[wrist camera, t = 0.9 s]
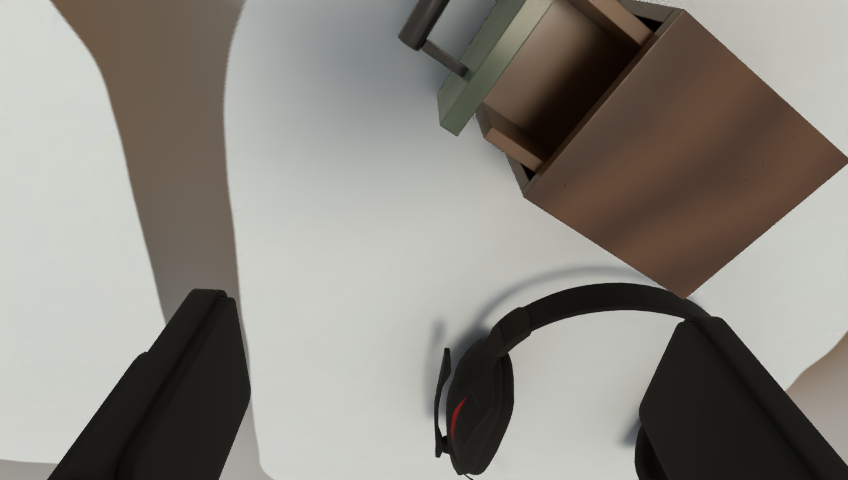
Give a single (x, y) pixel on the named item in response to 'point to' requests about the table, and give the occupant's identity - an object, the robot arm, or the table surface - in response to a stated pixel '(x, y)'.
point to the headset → (494, 383)
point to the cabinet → (681, 157)
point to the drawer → (530, 69)
